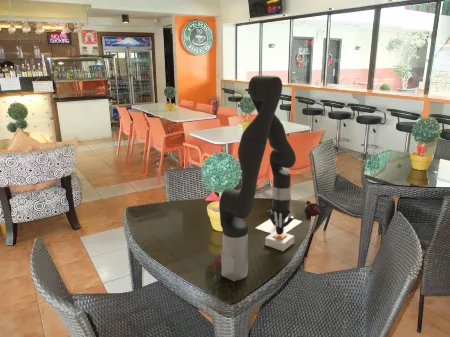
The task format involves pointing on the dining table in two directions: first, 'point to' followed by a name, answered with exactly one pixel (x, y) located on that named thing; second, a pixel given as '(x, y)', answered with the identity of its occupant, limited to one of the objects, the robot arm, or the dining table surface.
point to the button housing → (279, 241)
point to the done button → (280, 236)
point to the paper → (271, 227)
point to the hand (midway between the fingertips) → (279, 233)
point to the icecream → (312, 209)
